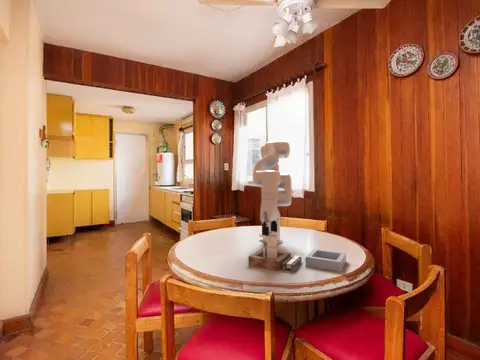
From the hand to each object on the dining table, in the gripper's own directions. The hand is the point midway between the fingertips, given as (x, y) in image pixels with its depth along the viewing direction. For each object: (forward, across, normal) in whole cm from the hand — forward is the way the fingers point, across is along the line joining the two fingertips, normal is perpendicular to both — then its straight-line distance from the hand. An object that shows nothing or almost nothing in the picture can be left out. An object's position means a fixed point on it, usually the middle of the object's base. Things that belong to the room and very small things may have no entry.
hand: (269, 233), depth 121 cm
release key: (+14, -2, +11) cm, 18 cm away
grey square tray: (+14, -13, +23) cm, 30 cm away
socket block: (+14, -1, +3) cm, 14 cm away
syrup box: (+14, -1, 0) cm, 14 cm away
